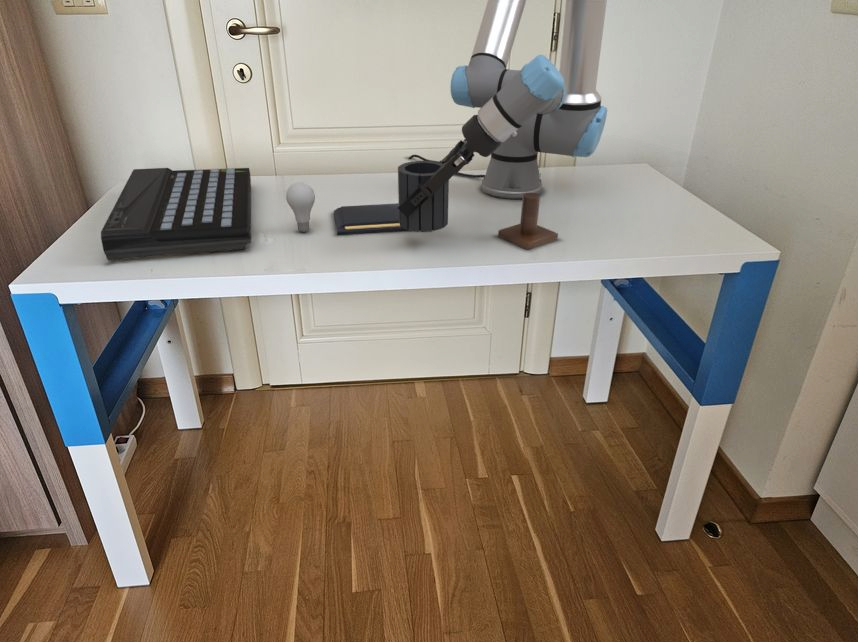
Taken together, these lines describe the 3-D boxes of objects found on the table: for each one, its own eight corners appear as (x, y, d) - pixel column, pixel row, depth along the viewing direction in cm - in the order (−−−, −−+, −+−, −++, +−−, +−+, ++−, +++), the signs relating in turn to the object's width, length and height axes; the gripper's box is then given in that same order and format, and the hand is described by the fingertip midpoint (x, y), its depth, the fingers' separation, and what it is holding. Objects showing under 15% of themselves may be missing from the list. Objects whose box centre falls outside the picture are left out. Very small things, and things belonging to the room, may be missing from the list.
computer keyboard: (252, 253, 133) (247, 222, 130) (107, 265, 128) (98, 233, 125) (252, 186, 171) (248, 160, 167) (139, 193, 166) (133, 167, 162)
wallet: (417, 199, 156) (426, 222, 143) (417, 207, 157) (425, 230, 144) (333, 203, 154) (334, 226, 141) (333, 211, 155) (335, 235, 142)
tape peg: (497, 236, 141) (500, 194, 136) (527, 227, 146) (531, 186, 141) (527, 249, 135) (531, 205, 130) (557, 239, 140) (562, 196, 135)
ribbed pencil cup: (390, 221, 136) (388, 166, 130) (427, 210, 141) (428, 157, 135) (418, 235, 130) (418, 179, 124) (457, 224, 135) (458, 169, 129)
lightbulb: (295, 239, 140) (289, 189, 134) (286, 229, 145) (280, 180, 139) (322, 234, 142) (318, 184, 137) (312, 225, 147) (308, 177, 141)
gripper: (494, 160, 114) (408, 237, 126) (509, 129, 133) (433, 197, 144) (465, 128, 112) (381, 208, 124) (484, 100, 131) (410, 172, 142)
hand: (409, 202), depth 134 cm, fingers closed on ribbed pencil cup, 10 cm apart
